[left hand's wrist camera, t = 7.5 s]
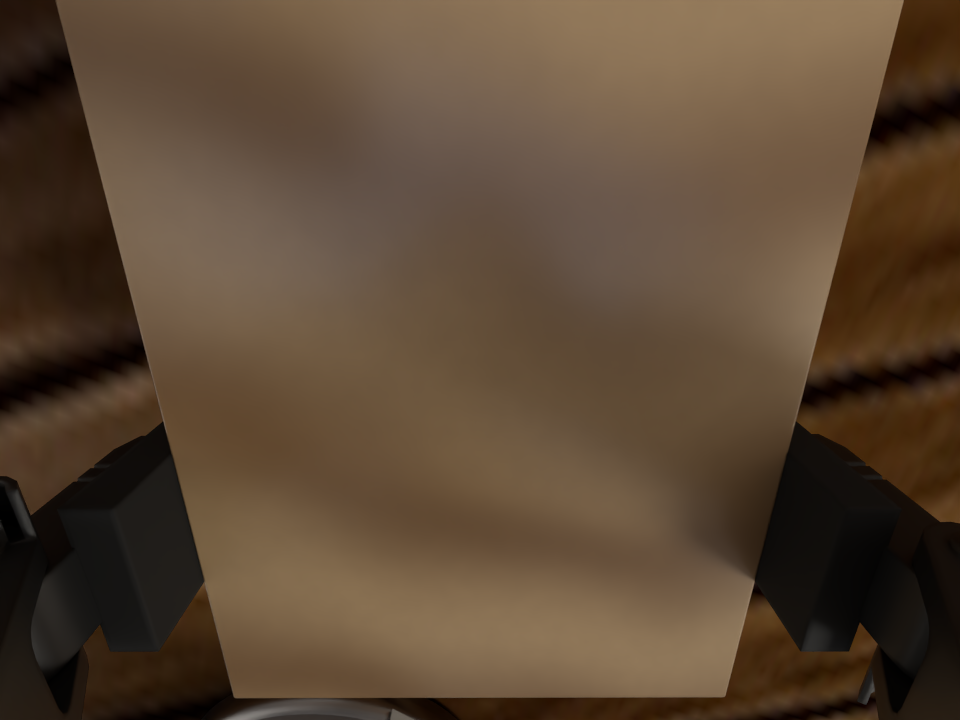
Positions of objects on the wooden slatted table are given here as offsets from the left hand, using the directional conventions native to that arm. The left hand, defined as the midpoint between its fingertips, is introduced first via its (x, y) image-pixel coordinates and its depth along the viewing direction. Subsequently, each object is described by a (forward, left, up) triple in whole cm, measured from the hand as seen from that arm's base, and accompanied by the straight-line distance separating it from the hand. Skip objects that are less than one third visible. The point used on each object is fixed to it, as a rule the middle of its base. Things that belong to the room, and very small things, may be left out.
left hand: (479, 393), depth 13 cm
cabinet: (+2, +6, -4) cm, 7 cm away
